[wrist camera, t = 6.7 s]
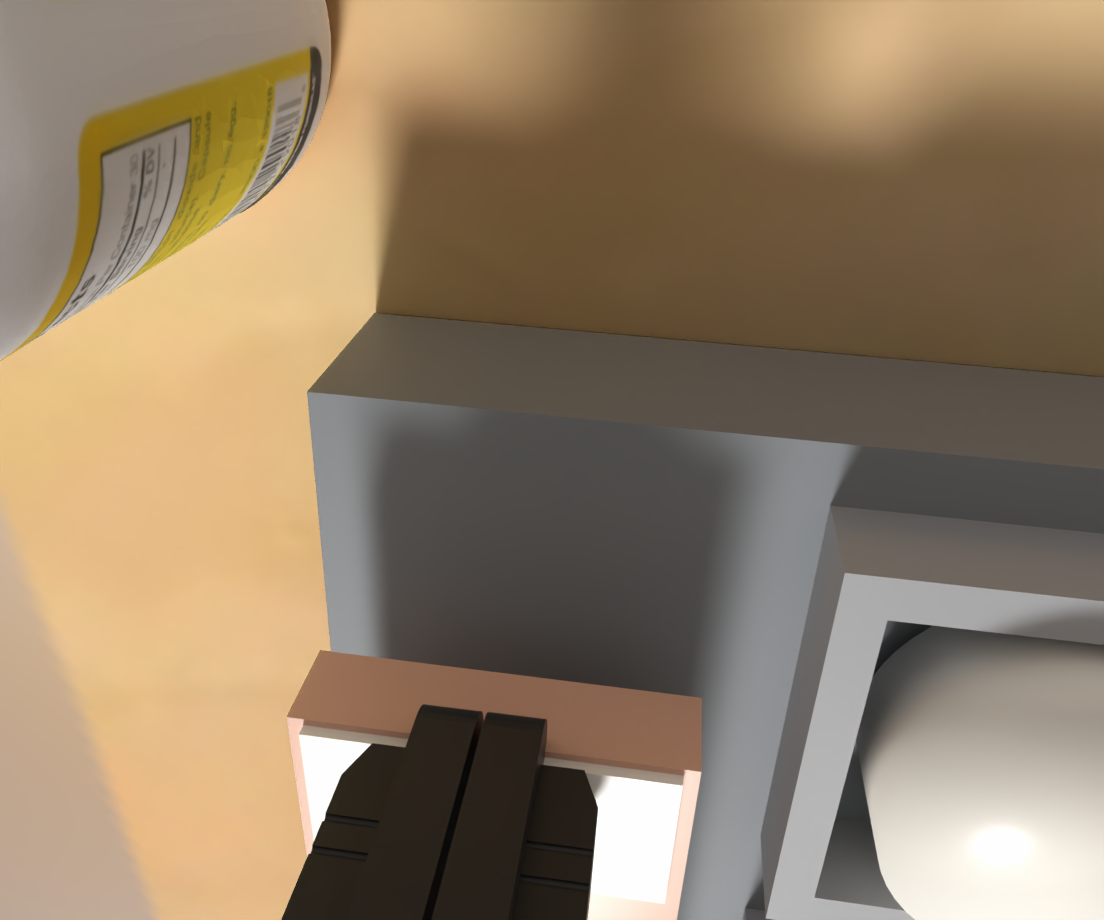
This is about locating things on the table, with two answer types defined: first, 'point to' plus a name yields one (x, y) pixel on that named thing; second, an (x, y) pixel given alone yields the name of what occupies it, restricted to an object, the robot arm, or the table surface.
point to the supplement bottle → (140, 136)
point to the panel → (706, 548)
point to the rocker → (572, 742)
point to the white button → (988, 776)
